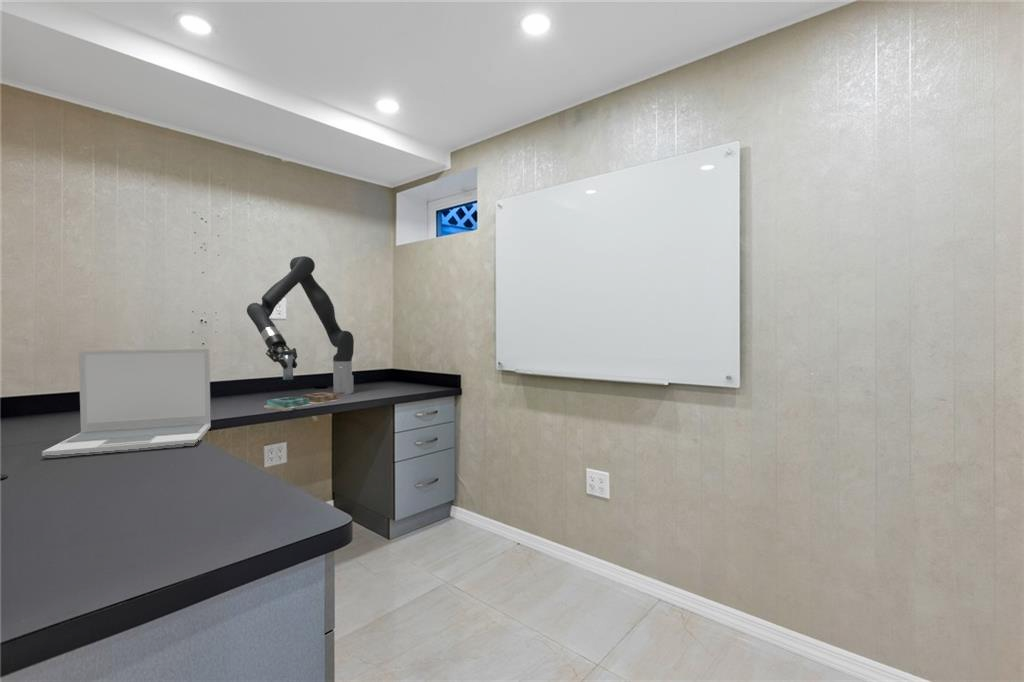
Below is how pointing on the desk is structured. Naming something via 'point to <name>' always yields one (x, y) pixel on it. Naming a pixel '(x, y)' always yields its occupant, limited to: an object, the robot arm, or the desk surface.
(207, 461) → the desk surface
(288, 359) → the steel pin
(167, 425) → the laptop
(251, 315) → the robot arm
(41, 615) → the desk surface
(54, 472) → the desk surface
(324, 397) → the dock board
